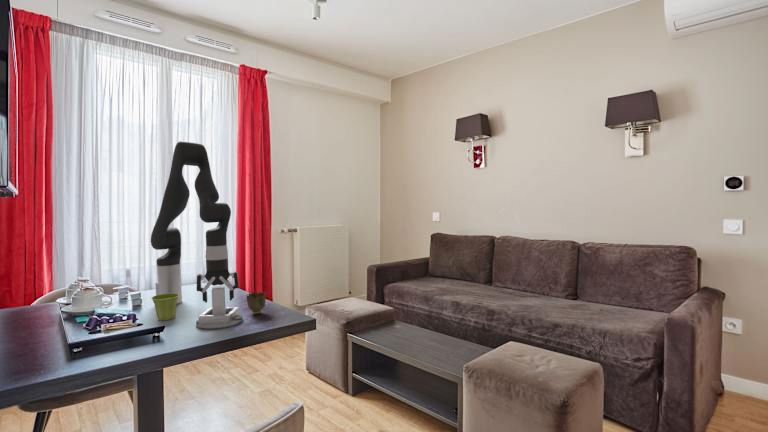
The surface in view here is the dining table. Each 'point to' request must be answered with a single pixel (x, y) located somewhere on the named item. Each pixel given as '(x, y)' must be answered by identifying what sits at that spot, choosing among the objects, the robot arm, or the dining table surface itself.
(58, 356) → the dining table surface
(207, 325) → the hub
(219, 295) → the skincare box
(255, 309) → the cup
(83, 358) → the dining table surface
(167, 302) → the plant pot
